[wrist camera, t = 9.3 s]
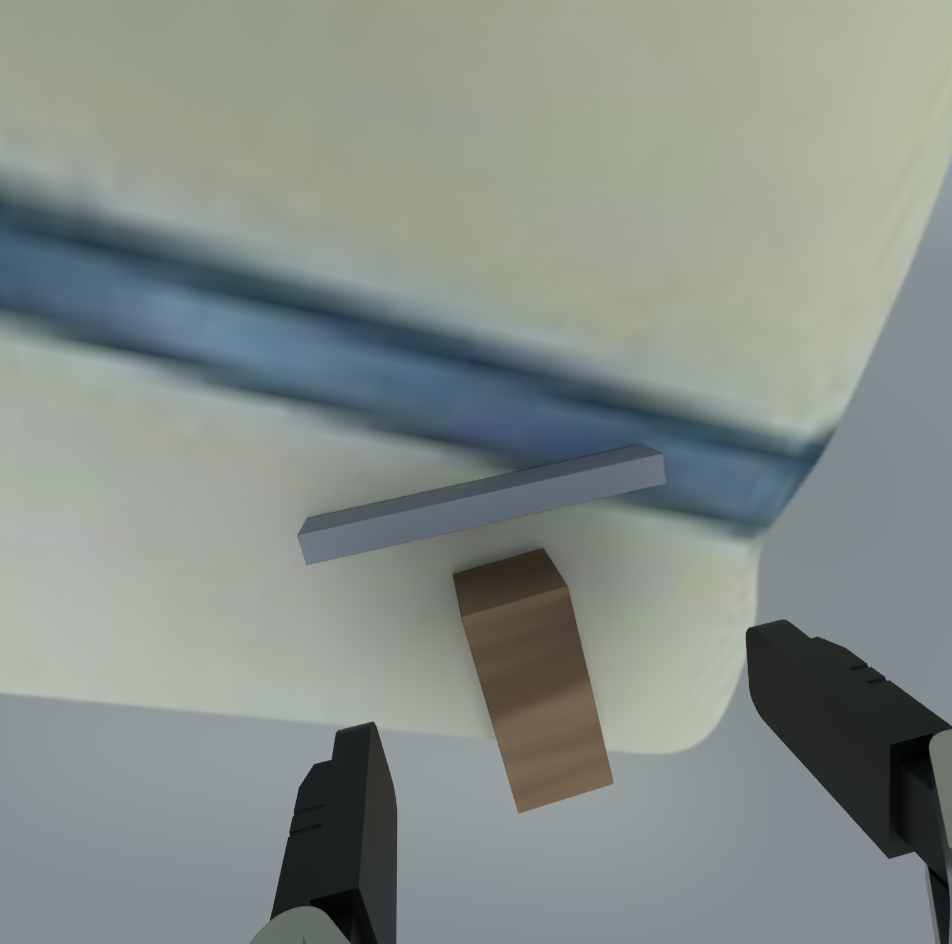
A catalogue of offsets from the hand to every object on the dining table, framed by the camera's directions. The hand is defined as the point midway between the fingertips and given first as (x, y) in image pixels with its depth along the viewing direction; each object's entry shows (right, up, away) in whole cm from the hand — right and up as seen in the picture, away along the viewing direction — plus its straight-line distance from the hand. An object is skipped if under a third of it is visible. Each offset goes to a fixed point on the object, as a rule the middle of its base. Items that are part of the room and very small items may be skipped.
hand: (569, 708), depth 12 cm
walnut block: (-1, +1, +11) cm, 11 cm away
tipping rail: (-2, +4, +11) cm, 12 cm away
